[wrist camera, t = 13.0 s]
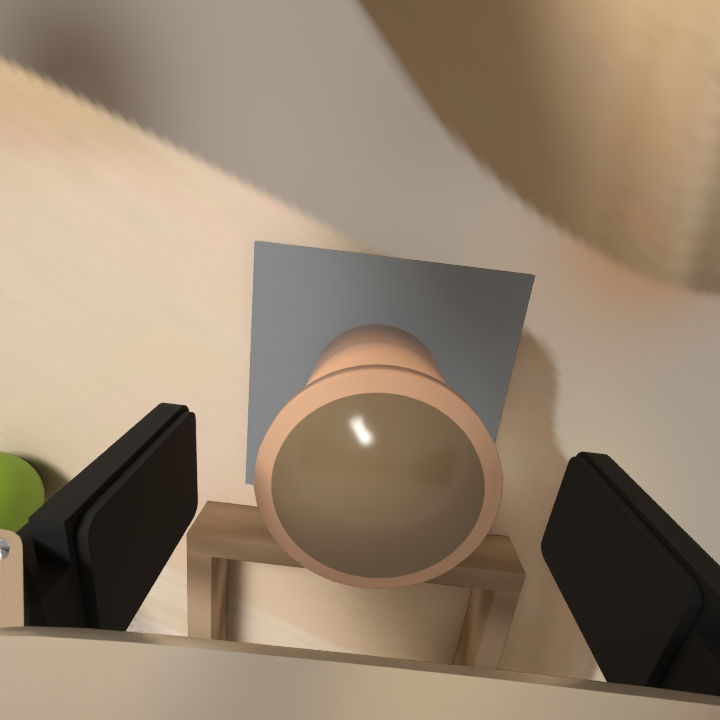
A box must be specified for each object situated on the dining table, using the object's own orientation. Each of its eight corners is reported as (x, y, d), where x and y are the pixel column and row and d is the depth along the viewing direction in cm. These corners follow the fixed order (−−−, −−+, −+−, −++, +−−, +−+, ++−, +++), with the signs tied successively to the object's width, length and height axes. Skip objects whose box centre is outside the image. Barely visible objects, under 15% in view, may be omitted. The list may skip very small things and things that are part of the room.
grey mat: (258, 240, 17) (254, 241, 17) (529, 274, 17) (535, 275, 17) (249, 477, 21) (245, 483, 20) (474, 504, 21) (477, 511, 20)
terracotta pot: (309, 306, 18) (258, 359, 10) (461, 325, 18) (530, 393, 10) (298, 442, 20) (248, 576, 12) (435, 459, 20) (475, 604, 12)
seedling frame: (207, 500, 21) (186, 533, 19) (508, 537, 21) (525, 574, 19) (206, 710, 26) (189, 758, 24) (452, 739, 26) (460, 789, 24)
